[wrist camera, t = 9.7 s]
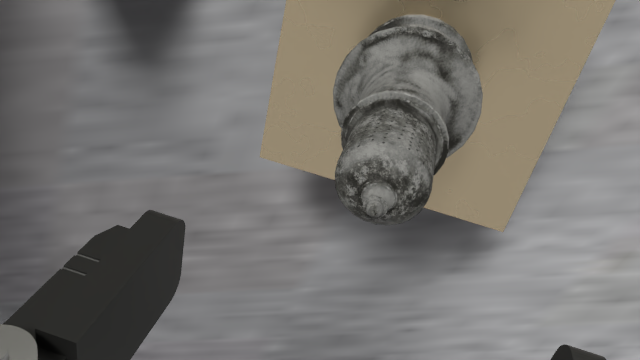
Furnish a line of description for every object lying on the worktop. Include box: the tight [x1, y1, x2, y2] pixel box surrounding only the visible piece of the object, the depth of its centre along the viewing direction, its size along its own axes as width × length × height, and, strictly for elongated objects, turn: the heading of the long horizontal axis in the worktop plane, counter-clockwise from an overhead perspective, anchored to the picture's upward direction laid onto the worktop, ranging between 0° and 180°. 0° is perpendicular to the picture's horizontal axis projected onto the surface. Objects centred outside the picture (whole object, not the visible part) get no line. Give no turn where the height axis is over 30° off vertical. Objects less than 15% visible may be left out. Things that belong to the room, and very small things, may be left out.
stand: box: [260, 0, 615, 232], centre depth 28 cm, size 16×16×9 cm
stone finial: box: [333, 15, 483, 225], centre depth 19 cm, size 6×6×12 cm
